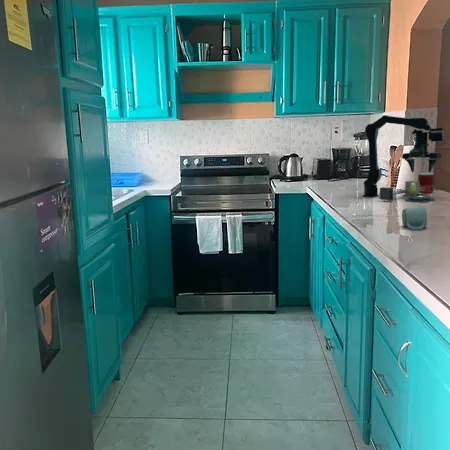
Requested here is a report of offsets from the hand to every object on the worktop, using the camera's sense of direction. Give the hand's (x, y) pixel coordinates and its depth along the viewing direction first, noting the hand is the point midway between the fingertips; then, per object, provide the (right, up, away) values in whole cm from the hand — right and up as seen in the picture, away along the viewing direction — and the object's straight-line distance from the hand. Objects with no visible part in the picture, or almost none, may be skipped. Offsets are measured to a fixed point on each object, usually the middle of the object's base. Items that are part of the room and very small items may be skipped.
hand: (421, 172), depth 242 cm
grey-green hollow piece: (-2, -12, +8) cm, 14 cm away
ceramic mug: (-31, -29, -69) cm, 81 cm away
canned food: (+10, -10, +19) cm, 23 cm away
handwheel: (-4, -14, -9) cm, 17 cm away
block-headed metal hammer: (-14, -13, -1) cm, 19 cm away
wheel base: (-4, -15, -8) cm, 18 cm away
